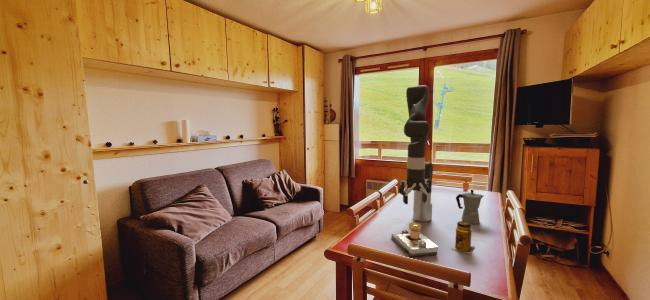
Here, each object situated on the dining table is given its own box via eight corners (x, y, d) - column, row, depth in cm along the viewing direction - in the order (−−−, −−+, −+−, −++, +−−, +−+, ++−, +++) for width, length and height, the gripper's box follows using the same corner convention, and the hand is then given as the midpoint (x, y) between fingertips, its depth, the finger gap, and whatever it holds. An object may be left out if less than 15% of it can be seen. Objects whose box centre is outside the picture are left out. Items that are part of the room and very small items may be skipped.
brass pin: (416, 243, 127) (417, 222, 125) (422, 248, 121) (423, 226, 120) (406, 244, 126) (407, 223, 124) (411, 249, 121) (412, 227, 119)
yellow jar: (452, 249, 120) (453, 223, 119) (457, 242, 127) (458, 217, 125) (470, 254, 116) (471, 227, 114) (474, 247, 122) (476, 221, 121)
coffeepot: (477, 217, 158) (478, 187, 155) (487, 224, 148) (489, 191, 146) (450, 218, 157) (452, 187, 155) (459, 224, 148) (461, 192, 146)
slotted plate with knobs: (414, 235, 134) (414, 225, 134) (437, 255, 115) (438, 243, 114) (391, 237, 132) (391, 226, 132) (411, 258, 113) (411, 245, 112)
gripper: (426, 164, 124) (425, 199, 126) (396, 166, 121) (396, 201, 123) (435, 167, 117) (434, 204, 119) (404, 169, 114) (403, 206, 116)
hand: (414, 203), depth 121 cm, fingers open, 8 cm apart
